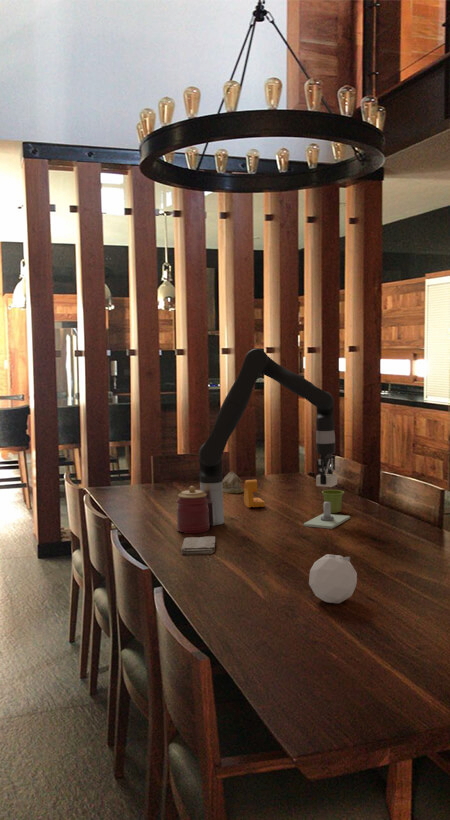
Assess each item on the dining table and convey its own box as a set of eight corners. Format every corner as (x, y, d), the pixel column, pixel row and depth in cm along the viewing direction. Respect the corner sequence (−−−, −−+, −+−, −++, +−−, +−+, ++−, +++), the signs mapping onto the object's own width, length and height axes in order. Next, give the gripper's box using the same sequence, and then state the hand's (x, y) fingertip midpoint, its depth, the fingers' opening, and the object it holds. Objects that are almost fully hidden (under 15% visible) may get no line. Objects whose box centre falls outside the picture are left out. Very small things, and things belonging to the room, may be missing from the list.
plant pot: (343, 509, 332) (343, 489, 332) (344, 514, 323) (344, 493, 322) (321, 509, 333) (321, 489, 333) (322, 514, 324) (322, 494, 323)
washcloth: (180, 556, 266) (180, 547, 266) (183, 543, 284) (183, 535, 284) (215, 555, 266) (214, 546, 266) (215, 542, 284) (215, 534, 284)
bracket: (265, 508, 340) (264, 481, 339) (249, 509, 339) (248, 482, 338) (259, 503, 351) (258, 477, 350) (244, 504, 349) (243, 478, 348)
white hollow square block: (331, 486, 304) (331, 477, 303) (316, 486, 307) (316, 476, 307) (337, 484, 309) (336, 474, 309) (322, 483, 312) (322, 473, 312)
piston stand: (331, 528, 298) (331, 508, 297) (303, 526, 304) (303, 506, 303) (350, 518, 315) (349, 499, 314) (322, 515, 321) (322, 496, 320)
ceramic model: (217, 490, 387) (216, 470, 386) (237, 488, 391) (236, 468, 390) (228, 494, 374) (227, 474, 373) (249, 492, 378) (248, 472, 377)
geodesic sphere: (364, 572, 220) (335, 536, 219) (375, 587, 206) (344, 548, 205) (325, 603, 220) (296, 567, 219) (334, 620, 207) (302, 582, 206)
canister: (205, 534, 294) (204, 489, 293) (173, 533, 297) (171, 488, 296) (213, 526, 307) (211, 483, 306) (181, 526, 310) (180, 482, 308)
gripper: (327, 444, 299) (328, 486, 300) (341, 439, 311) (342, 480, 312) (309, 443, 302) (311, 485, 304) (323, 439, 315) (324, 479, 316)
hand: (326, 482), depth 308 cm, fingers closed on white hollow square block, 6 cm apart
